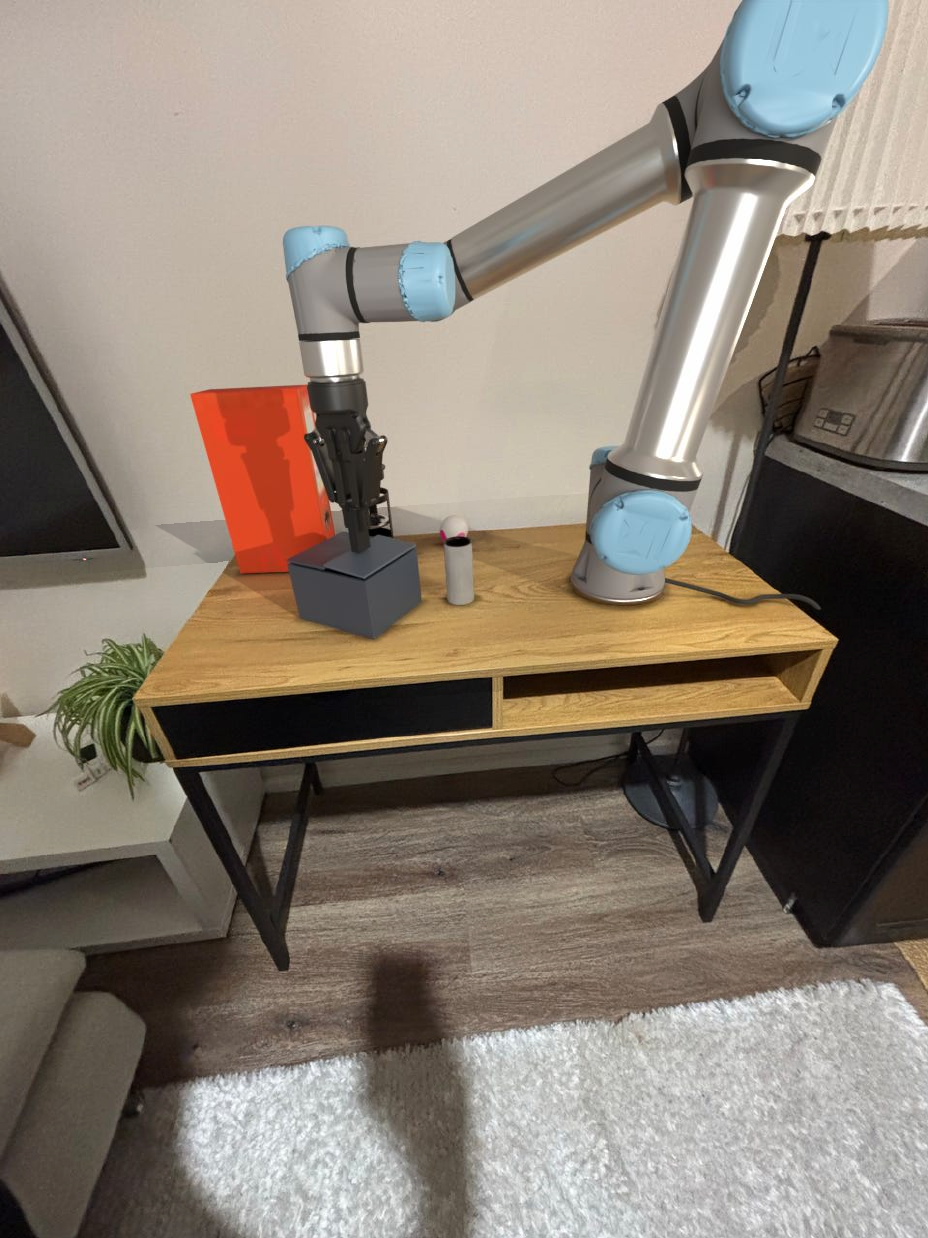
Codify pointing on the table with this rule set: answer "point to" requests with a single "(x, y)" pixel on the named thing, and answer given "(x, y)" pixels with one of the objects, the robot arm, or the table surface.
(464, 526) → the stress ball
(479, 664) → the table surface
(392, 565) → the carton
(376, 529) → the french press
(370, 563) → the flap
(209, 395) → the file binder
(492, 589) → the table surface
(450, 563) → the gray hollow cylinder
